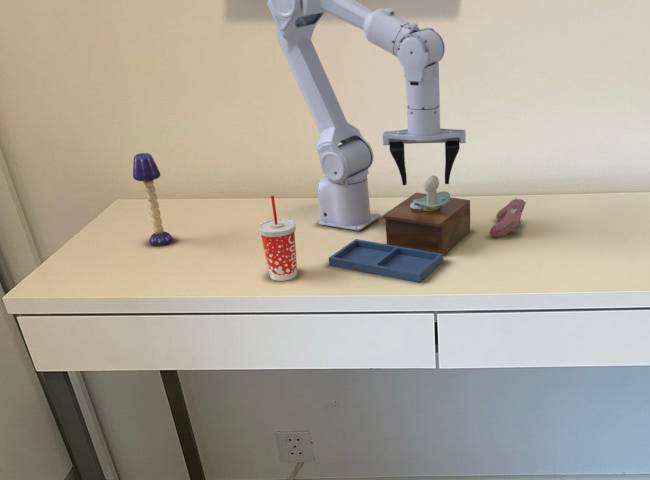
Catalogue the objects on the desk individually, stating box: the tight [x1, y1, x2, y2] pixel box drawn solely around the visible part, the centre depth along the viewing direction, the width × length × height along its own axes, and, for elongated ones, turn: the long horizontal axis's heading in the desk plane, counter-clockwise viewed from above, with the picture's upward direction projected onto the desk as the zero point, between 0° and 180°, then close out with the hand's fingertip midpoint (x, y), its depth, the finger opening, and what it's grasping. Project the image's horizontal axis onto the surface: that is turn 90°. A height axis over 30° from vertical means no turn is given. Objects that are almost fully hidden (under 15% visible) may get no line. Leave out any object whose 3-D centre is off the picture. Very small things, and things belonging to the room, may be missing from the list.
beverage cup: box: [257, 195, 298, 282], centre depth 125 cm, size 6×6×14 cm
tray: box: [328, 238, 444, 283], centre depth 132 cm, size 9×18×2 cm, turn 65°
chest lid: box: [382, 192, 471, 227], centre depth 138 cm, size 13×11×1 cm
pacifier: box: [410, 175, 451, 211], centre depth 136 cm, size 7×6×6 cm
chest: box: [384, 202, 471, 256], centre depth 140 cm, size 12×11×6 cm
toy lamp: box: [132, 152, 174, 247], centre depth 138 cm, size 5×5×17 cm
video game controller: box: [489, 197, 527, 238], centre depth 143 cm, size 10×5×7 cm, turn 168°
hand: (425, 183), depth 137 cm, fingers open, 7 cm apart
